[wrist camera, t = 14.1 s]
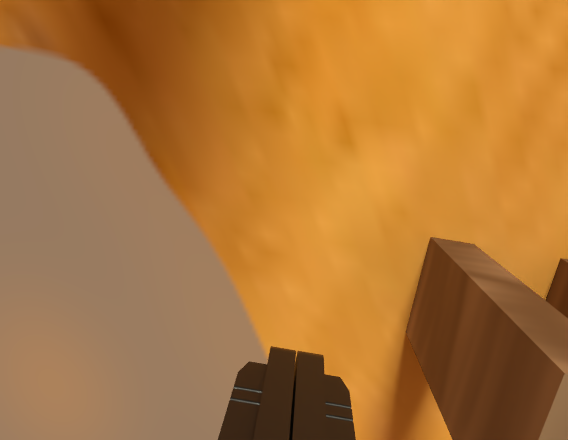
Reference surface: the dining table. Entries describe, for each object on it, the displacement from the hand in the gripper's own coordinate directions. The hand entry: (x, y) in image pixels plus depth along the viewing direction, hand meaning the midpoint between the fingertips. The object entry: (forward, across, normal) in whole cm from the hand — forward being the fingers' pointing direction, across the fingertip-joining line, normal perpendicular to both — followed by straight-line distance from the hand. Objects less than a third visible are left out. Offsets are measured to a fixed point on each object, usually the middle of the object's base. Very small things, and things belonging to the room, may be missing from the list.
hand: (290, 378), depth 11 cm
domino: (+8, -7, 0) cm, 11 cm away
